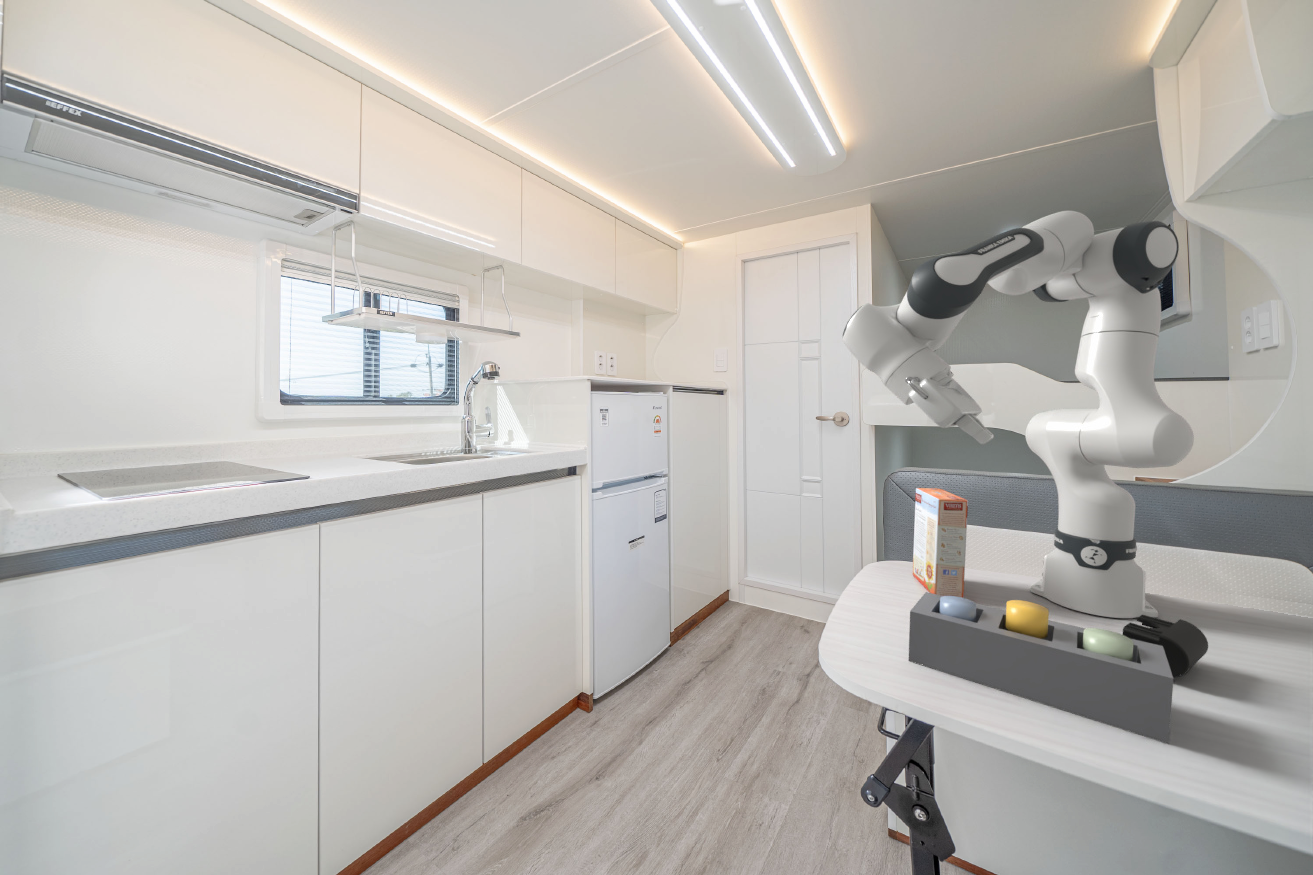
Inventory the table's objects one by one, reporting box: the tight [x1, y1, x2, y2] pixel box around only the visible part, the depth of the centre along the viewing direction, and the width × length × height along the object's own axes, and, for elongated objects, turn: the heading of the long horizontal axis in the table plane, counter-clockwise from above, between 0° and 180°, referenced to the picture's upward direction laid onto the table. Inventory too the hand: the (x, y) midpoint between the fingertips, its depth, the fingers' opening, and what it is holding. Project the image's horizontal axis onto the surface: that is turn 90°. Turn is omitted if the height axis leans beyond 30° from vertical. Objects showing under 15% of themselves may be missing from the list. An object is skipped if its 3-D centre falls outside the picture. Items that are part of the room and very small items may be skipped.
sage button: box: [1083, 627, 1133, 662], centre depth 63 cm, size 5×5×4 cm
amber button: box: [1005, 599, 1050, 639], centre depth 69 cm, size 5×5×4 cm
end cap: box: [1122, 615, 1209, 678], centre depth 72 cm, size 10×7×7 cm
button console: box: [908, 591, 1174, 745], centre depth 69 cm, size 10×28×8 cm, turn 48°
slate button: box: [939, 596, 977, 623], centre depth 75 cm, size 5×5×4 cm
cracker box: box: [912, 487, 969, 598], centre depth 104 cm, size 14×6×21 cm, turn 168°
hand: (988, 440), depth 74 cm, fingers closed
